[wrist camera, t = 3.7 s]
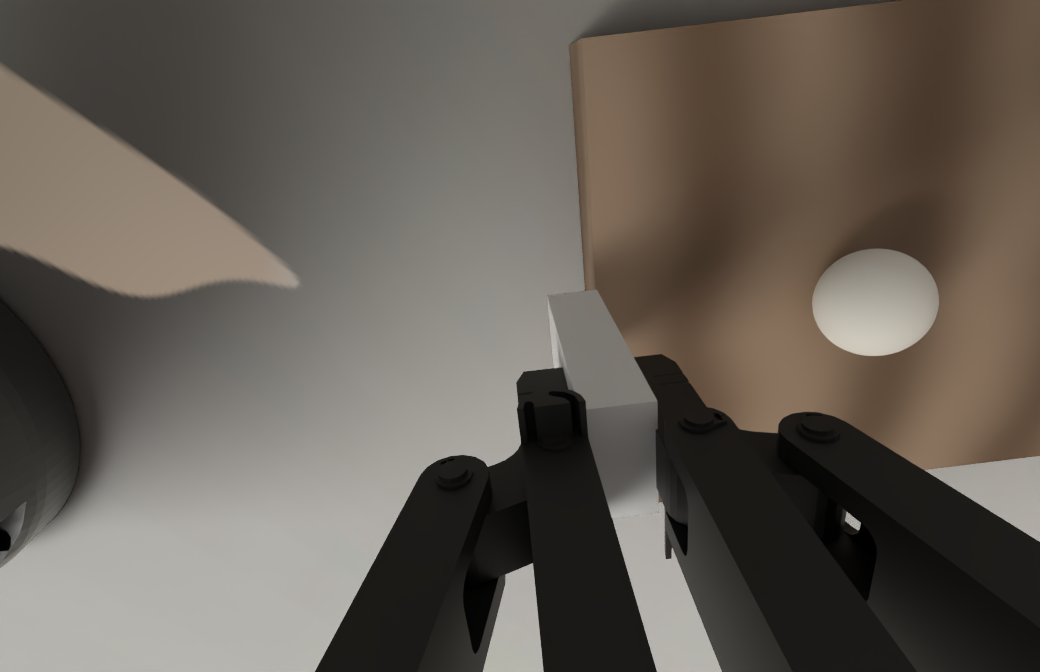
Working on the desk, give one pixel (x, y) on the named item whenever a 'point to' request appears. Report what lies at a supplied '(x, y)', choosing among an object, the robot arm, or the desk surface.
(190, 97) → the desk surface
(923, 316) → the ball
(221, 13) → the desk surface
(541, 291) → the desk surface
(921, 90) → the board
